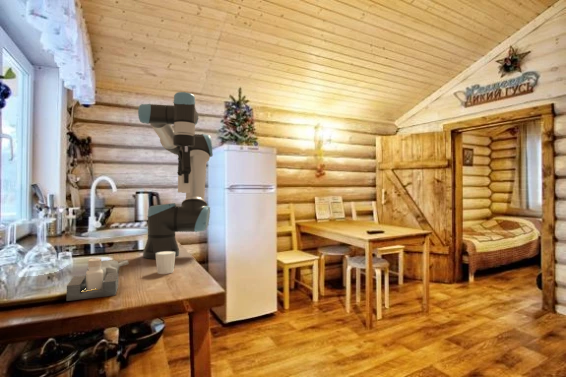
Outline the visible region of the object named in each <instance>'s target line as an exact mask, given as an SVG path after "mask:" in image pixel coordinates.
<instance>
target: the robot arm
mask: <svg viewBox="0 0 566 377" xmlns="http://www.w3.org/2000/svg"><path fill="white" fill-rule="evenodd" d="M137 116H138V120H139V122H140V123H141V124H147V125H150V126H151V127H152V129H153V131H154V132H155V134H156V135H157V136H158V138H159V141H160V142H159V143H160V144H161V146H162V148H164V149H165V150H166V151H168V152H169V153H171V154H174V155H176V156H177V160H178V164H177V172H176V173H177V193H181V194H185V199H183V200H182V202H181V206H179V205H178V206H177V204H176V203H175V202H172V203H165V204H164V203H163V204H157V205H156V204H155V205H151V206H149V207H148V209H147V210H148V211H147V240H146V243H145V246H144V249H143V251H142V257H143V258H145V259H150V260H151V259H153V260H156V253H157V252H163V251H174V252H175V257H177V256H179V255H180V248H179V245H178V242H177V239H176V233H179V232H180V233H184V232H185V233H187V232H188V233H189V232H190V233H193V232H194V233H198V232H205V231H206V230H207V228H208V226H209V223H210V216H211V215H210V214H211V207H210V206H209V205H208V203H207V201H205V190H206V189H205V188H206V173H207V170H206V169H207V163H208V162H209V161H210V158H211V157H213V155H214V154H213V153H214V152H213V144H212V137H211V135H209V134H203V133H202V134H199V133H196V125H197V124H198V123H199V114H198V112H197V110H196V96H195V95H194V94H192V93H191V92H185V91H179V92H176V93H174V95H173V102H172V105H170V104H155V103H154V104H153V103H141V104H139V106H138V110H137Z"/></svg>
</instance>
